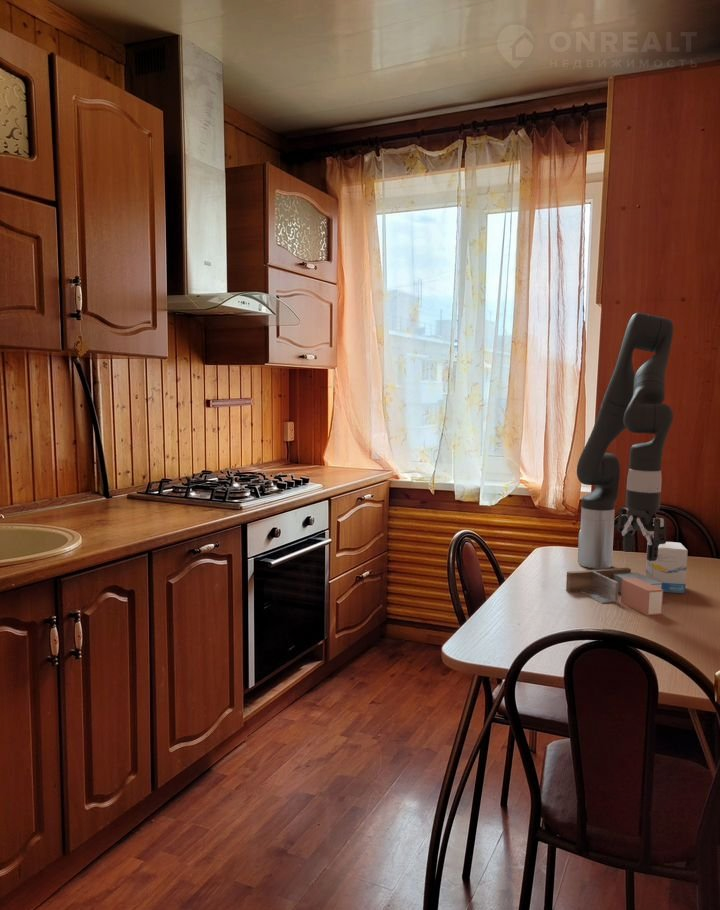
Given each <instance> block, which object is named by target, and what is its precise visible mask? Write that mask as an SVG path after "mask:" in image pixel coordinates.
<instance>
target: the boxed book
mask: <svg viewBox="0 0 720 910" xmlns="http://www.w3.org/2000/svg"><path fill="white" fill-rule="evenodd" d="M663 600H664V592H663V589H660V588H658V587H656V586H653V585H651V584H649V583H647V582H644V581H642V580H640V579H637V578H628V579H622V587H621V593H620V603H621V604H622V605H623V604H624V605H625V606H628V607H630V608H631V609H634V610H635V611H638V612H639V613H642V614H644V615H645V616H654V615H655V616H656V615H663Z"/></svg>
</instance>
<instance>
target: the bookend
mask: <svg viewBox="0 0 720 910" xmlns="http://www.w3.org/2000/svg"><path fill="white" fill-rule="evenodd" d="M618 586H619V582H617V581H614V580H612V579H610V578H608V577H606V576H604V575H601V574H599V573H597V572H592V588H591V589H586V590H579V593H582V594H583V595H585V596H587V597H589V598H591V599H593V600H595V601H597V602H599V603H601V604H612V603H613V604H614V603H618V602H619V592H618Z"/></svg>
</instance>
